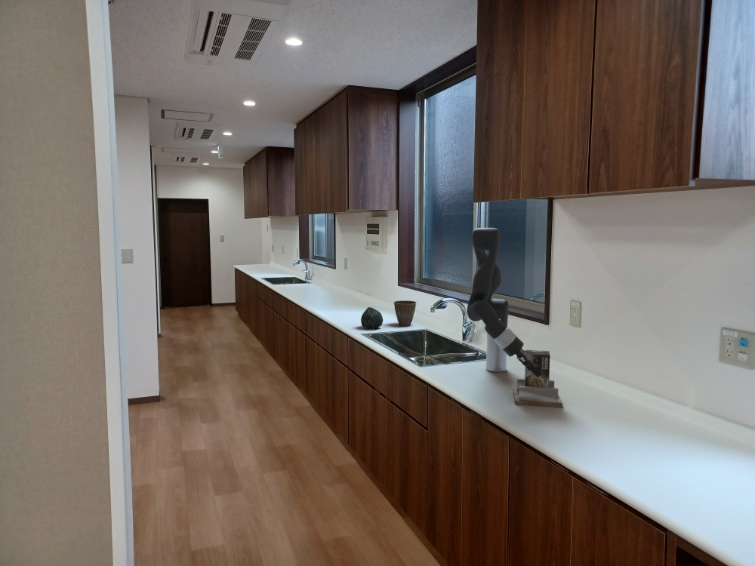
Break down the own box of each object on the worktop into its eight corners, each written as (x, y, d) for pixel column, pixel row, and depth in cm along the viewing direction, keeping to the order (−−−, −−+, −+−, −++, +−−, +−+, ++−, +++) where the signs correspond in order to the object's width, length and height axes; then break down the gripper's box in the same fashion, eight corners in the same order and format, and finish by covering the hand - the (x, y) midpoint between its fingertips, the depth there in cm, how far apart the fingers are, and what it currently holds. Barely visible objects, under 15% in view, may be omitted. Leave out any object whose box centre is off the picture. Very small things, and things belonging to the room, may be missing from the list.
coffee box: (548, 391, 203) (550, 350, 201) (549, 396, 197) (550, 354, 195) (523, 389, 206) (525, 349, 204) (523, 394, 199) (525, 353, 198)
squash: (387, 318, 349) (372, 301, 348) (386, 323, 334) (370, 305, 333) (372, 331, 351) (357, 315, 350) (369, 337, 336) (354, 320, 336)
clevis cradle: (512, 392, 210) (513, 377, 209) (556, 395, 207) (557, 379, 206) (515, 404, 196) (515, 387, 196) (562, 407, 193) (563, 390, 192)
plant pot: (419, 326, 347) (419, 303, 345) (398, 328, 342) (398, 304, 341) (411, 322, 361) (411, 300, 359) (390, 324, 356) (390, 301, 355)
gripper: (516, 339, 193) (548, 371, 193) (514, 331, 207) (543, 361, 207) (501, 352, 195) (533, 384, 194) (500, 343, 209) (529, 374, 208)
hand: (538, 372), depth 200 cm, fingers closed on coffee box, 6 cm apart
